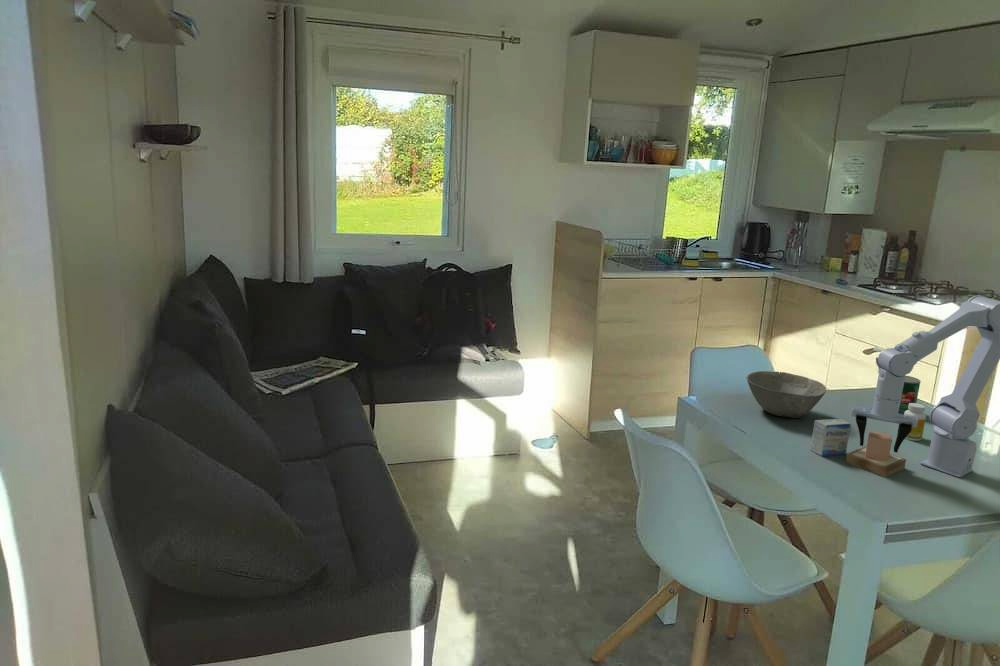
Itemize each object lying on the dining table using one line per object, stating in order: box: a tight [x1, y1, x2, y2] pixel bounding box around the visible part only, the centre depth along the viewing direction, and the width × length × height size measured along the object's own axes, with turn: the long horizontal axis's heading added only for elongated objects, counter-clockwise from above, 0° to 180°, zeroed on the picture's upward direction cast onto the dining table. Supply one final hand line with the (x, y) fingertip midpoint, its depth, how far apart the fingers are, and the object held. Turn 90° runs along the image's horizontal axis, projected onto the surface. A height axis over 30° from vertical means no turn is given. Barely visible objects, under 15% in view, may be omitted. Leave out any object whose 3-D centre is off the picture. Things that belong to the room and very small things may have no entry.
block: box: [866, 430, 893, 462], centre depth 179 cm, size 5×5×6 cm
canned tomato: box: [898, 375, 921, 415], centre depth 220 cm, size 8×8×11 cm
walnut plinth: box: [845, 445, 907, 478], centre depth 180 cm, size 10×10×2 cm
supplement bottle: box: [904, 402, 927, 442], centre depth 200 cm, size 5×5×10 cm
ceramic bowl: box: [745, 370, 827, 419], centre depth 214 cm, size 22×23×10 cm
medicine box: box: [809, 418, 852, 457], centre depth 187 cm, size 8×4×9 cm, turn 105°
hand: (878, 447), depth 179 cm, fingers open, 7 cm apart
